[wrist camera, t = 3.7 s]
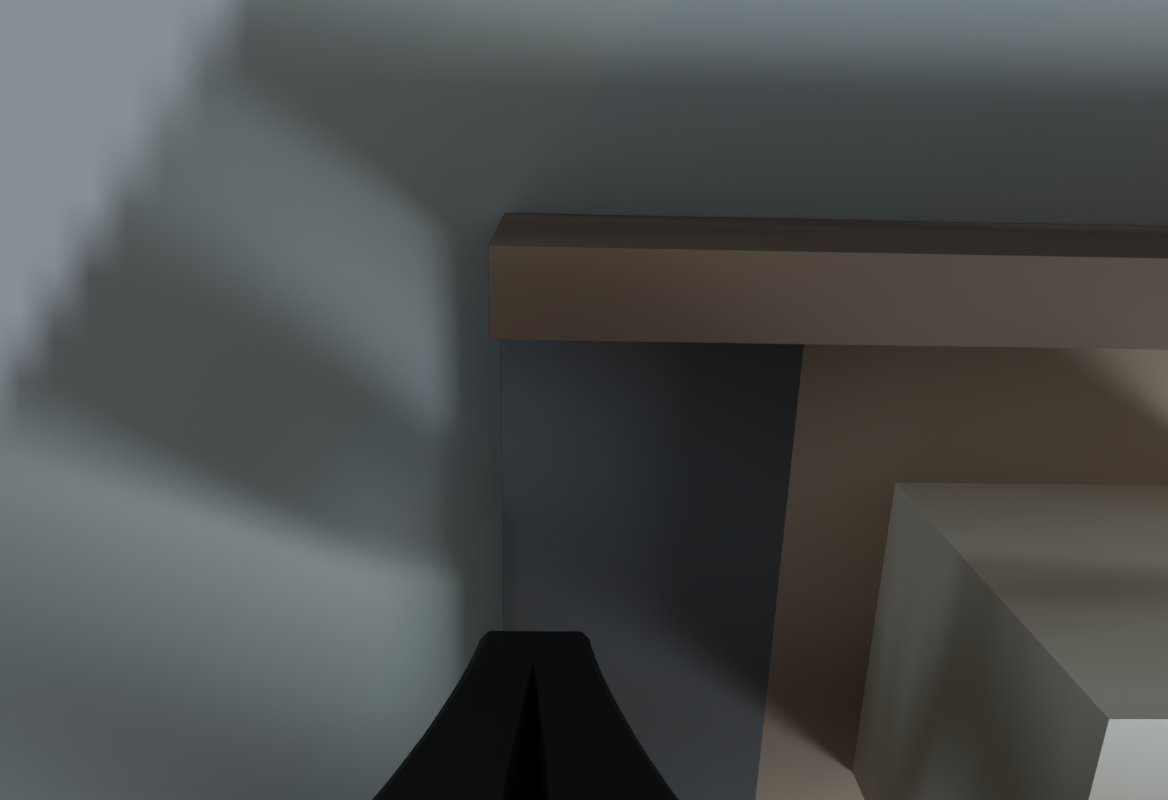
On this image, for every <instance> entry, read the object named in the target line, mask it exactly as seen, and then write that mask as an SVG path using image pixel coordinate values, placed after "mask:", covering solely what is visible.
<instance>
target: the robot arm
mask: <svg viewBox="0 0 1168 800" xmlns="http://www.w3.org/2000/svg"><path fill="white" fill-rule="evenodd" d="M372 800H679V799H678V798H677V797H676V795H675V794H674V792H673V791H672V790H671V788H670V787H669V786H668V784H667V783H666V781H665V780H664V779H663V777H662V776H661V774H660V773H659V771H658V770H657V768H656V767H655V765H654V764H653V763H652V761H651V760H650V758H649V757H648V755H647V754H646V752H645V750H644V749H643V747H642V746H641V744H640V742H639V741H638V739H637V738H636V736H635V734H634V733H633V731H632V729H631V727H630V726H629V724H628V722H627V720H626V719H625V717H624V715H623V714H622V712H621V710H620V708H619V707H618V705H617V703H616V701H615V699H614V697H613V695H612V693H611V691H610V689H609V687H608V685H607V683H606V681H605V679H604V677H603V675H602V672H601V670H600V668H599V665H598V663H597V660H596V658H595V655H594V652H593V649H592V646H591V643H590V639H589V638H588V637H587V636H586V635H585V634H584V633H583V632H582V631H489V632H488V633H487V634H486V635H484V636H483V637H482V638H481V640H480V642H479V644H478V647H477V649H476V651H475V653H474V655H473V657H472V659H471V661H470V663H469V665H468V667H467V668H466V670H465V672H464V674H463V675H462V677H461V679H460V680H459V682H458V684H457V685H456V687H455V689H454V690H453V692H452V694H451V695H450V697H449V698H448V700H447V701H446V703H445V704H444V706H443V707H442V709H441V710H440V712H439V713H438V715H437V716H436V718H435V719H434V721H433V722H432V724H431V725H430V727H429V728H428V730H427V731H426V733H425V734H424V735H423V737H422V738H421V739H420V741H419V742H418V743H417V745H416V746H415V747H414V748H413V750H412V751H411V752H410V754H409V755H408V756H407V758H406V759H405V760H404V761H403V763H402V764H401V765H400V767H399V768H398V769H397V770H396V772H395V773H394V774H393V776H392V777H391V778H390V779H389V781H388V782H387V783H386V784H385V785H384V787H383V788H382V789H381V790H380V791H379V792H378V794H377V795H376V796H375V797H374V798H373V799H372Z"/></svg>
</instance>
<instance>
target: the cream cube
mask: <svg viewBox="0 0 1168 800" xmlns="http://www.w3.org/2000/svg"><path fill="white" fill-rule="evenodd" d="M852 773H853V775H854V777H855V779H856V782H857V784H858V786H859V788H860V791H861V793H862V795H863V797H864V800H1168V485H1104V484H1000V483H897V482H895V488H894V494H893V501H892V508H891V515H890V521H889V528H888V535H887V542H886V548H885V555H884V562H883V569H882V575H881V582H880V589H879V596H878V602H877V609H876V616H875V623H874V629H873V636H872V643H871V650H870V656H869V663H868V670H867V677H866V683H865V690H864V697H863V704H862V710H861V717H860V724H859V731H858V737H857V744H856V751H855V758H854V764H853V771H852Z"/></svg>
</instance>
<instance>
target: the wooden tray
mask: <svg viewBox="0 0 1168 800" xmlns="http://www.w3.org/2000/svg"><path fill="white" fill-rule="evenodd" d="M488 248H489V334H490V339H497V340H501V359H502V498H503V631H582V632H583V633H584V634H585V635H586V636H587V637H588V638H589V639H590V643H591V646H592V649H593V652H594V655H595V658H596V660H597V663H598V665H599V668H600V670H601V672H602V675H603V677H604V679H605V681H606V683H607V685H608V687H609V689H610V691H611V693H612V695H613V697H614V699H615V701H616V703H617V705H618V707H619V708H620V710H621V712H622V714H623V715H624V717H625V719H626V720H627V722H628V724H629V726H630V727H631V729H632V731H633V733H634V734H635V736H636V738H637V739H638V741H639V742H640V744H641V746H642V747H643V749H644V750H645V752H646V754H647V755H648V757H649V758H650V760H651V761H652V763H653V764H654V765H655V767H656V768H657V770H658V771H659V773H660V774H661V776H662V777H663V779H664V780H665V781H666V783H667V784H668V786H669V787H670V788H671V790H672V791H673V792H674V794H675V795H676V797H677V798H678V799H679V800H864V797H863V795H862V793H861V791H860V788H859V786H858V784H857V782H856V779H855V777H854V775H853V773H852V771H853V764H854V758H855V751H856V744H857V737H858V731H859V724H860V717H861V710H862V704H863V697H864V690H865V683H866V677H867V670H868V663H869V656H870V650H871V643H872V636H873V629H874V623H875V616H876V609H877V602H878V596H879V589H880V582H881V575H882V569H883V562H884V555H885V548H886V542H887V535H888V528H889V521H890V515H891V508H892V501H893V494H894V488H895V482H897V483H1000V484H1104V485H1168V226H1124V225H1074V224H1024V223H975V222H925V221H875V220H826V219H776V218H726V217H677V216H627V215H577V214H528V213H505V214H504V216H503V218H502V220H501V222H500V224H499V226H498V228H497V230H496V232H495V234H494V236H493V238H492V240H491V242H490V244H489V246H488Z"/></svg>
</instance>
